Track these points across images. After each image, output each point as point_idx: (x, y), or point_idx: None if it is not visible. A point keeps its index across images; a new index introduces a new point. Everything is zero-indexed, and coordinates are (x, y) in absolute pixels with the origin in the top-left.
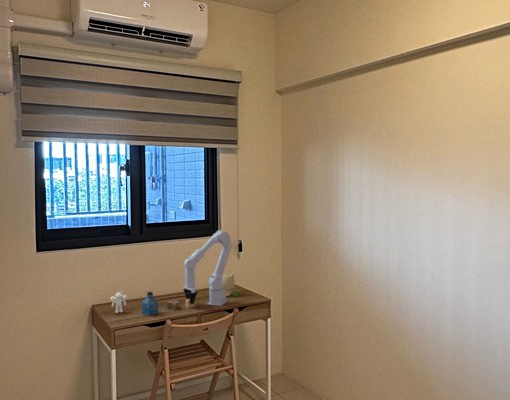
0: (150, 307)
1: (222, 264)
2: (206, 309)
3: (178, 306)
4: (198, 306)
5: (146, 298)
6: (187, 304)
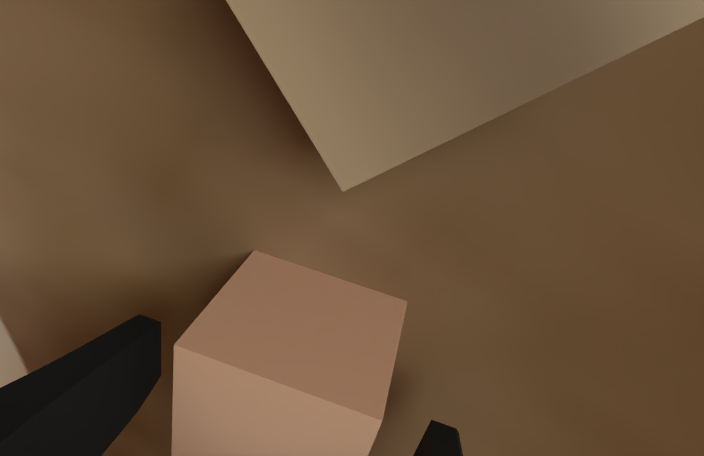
0: None
1: None
2: (44, 364)
3: None
4: None
5: None
6: (246, 293)
